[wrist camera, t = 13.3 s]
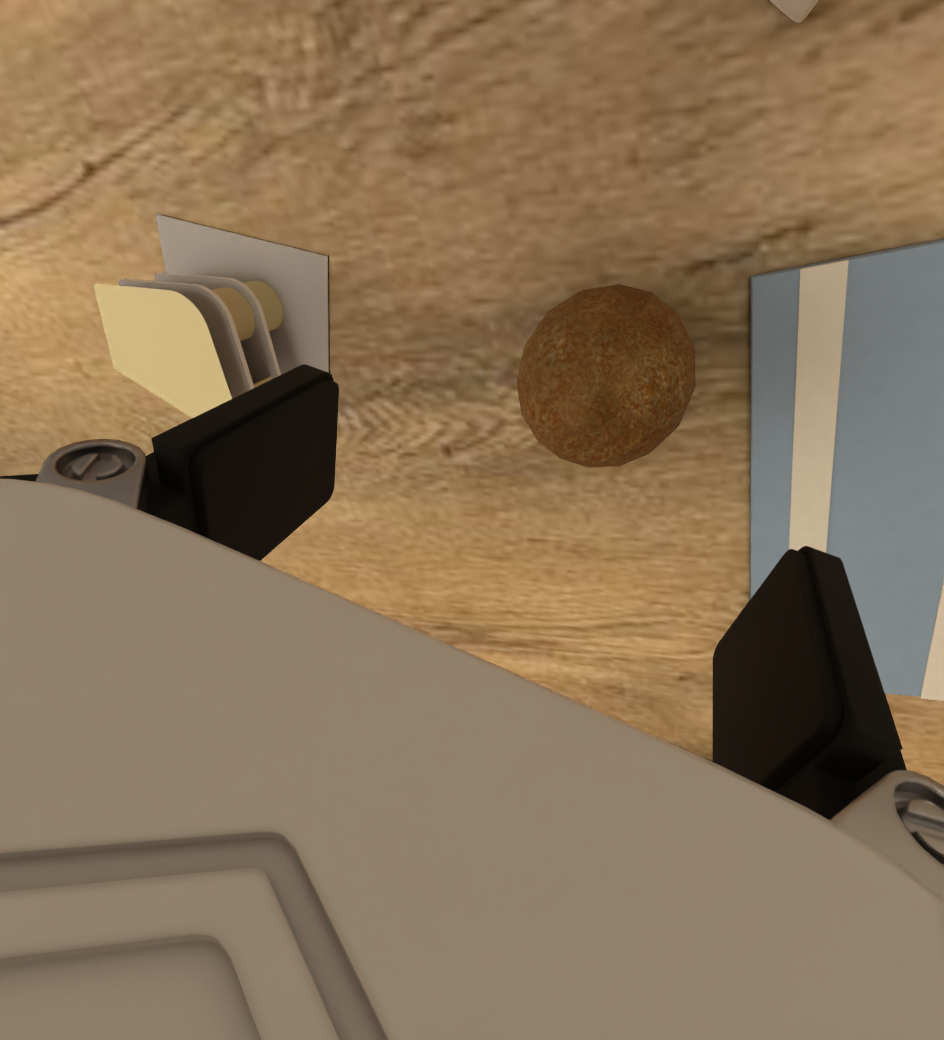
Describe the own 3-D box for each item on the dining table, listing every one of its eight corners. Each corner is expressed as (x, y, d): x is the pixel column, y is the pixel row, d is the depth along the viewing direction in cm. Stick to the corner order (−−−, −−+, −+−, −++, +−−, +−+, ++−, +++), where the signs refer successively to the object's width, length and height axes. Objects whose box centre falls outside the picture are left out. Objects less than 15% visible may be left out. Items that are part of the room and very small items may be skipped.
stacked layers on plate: (185, 382, 32) (103, 413, 28) (156, 214, 27) (51, 220, 23) (329, 428, 30) (266, 470, 26) (328, 256, 25) (248, 272, 21)
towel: (750, 275, 20) (751, 278, 19) (1136, 201, 16) (1151, 202, 15) (749, 673, 29) (750, 683, 28) (995, 694, 25) (1001, 706, 24)
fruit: (518, 342, 24) (451, 401, 18) (633, 232, 20) (599, 257, 14) (607, 445, 25) (572, 536, 19) (731, 358, 21) (741, 434, 15)
